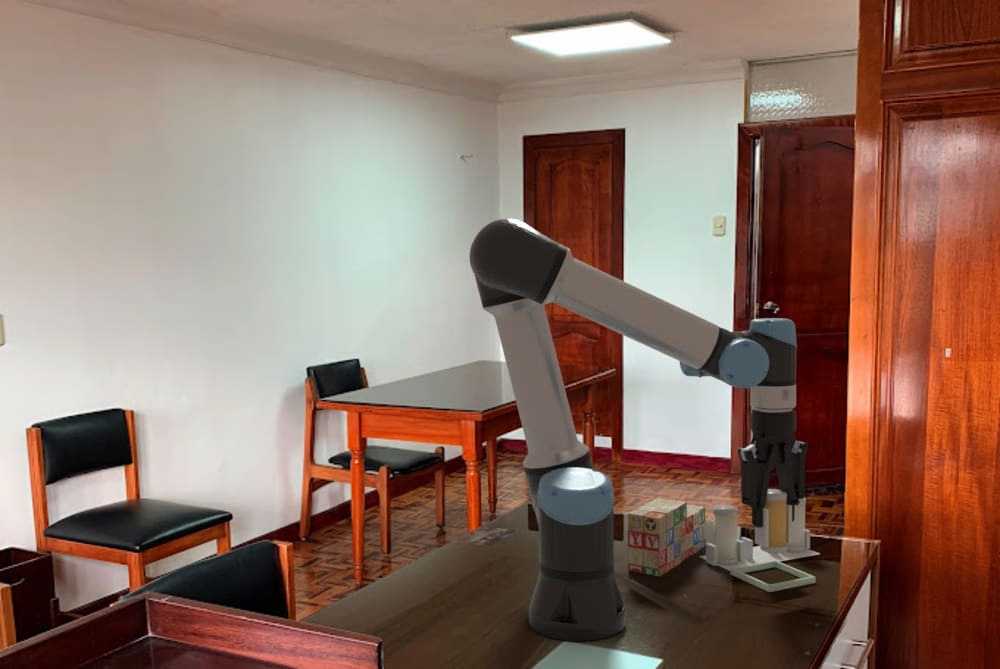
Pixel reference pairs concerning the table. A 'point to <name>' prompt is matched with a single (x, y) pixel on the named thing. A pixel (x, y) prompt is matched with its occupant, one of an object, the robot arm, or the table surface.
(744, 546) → the fuse panel
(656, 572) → the stack of blocks
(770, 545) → the fuse amber
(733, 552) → the ball
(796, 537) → the fuse cream far
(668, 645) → the table surface
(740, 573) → the tray
